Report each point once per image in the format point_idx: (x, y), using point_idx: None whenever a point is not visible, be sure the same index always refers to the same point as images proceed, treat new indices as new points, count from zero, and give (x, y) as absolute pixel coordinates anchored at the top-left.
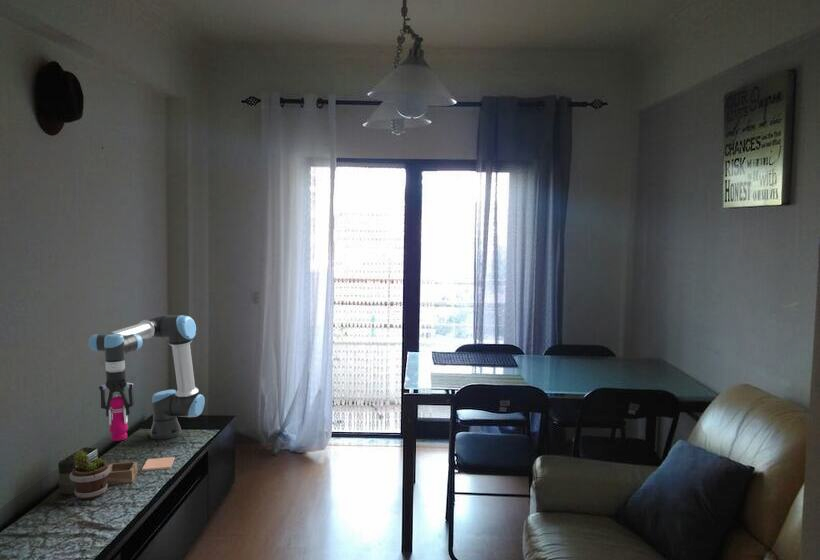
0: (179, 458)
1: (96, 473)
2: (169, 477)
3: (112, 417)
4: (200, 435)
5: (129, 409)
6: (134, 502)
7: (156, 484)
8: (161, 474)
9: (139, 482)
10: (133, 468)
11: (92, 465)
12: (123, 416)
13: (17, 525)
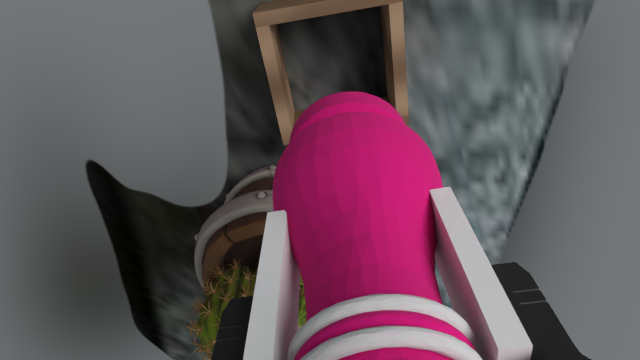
0: None
1: None
2: (560, 61)
3: (284, 259)
4: None
5: (559, 321)
6: None
7: (507, 132)
8: (519, 19)
9: (431, 108)
10: (405, 83)
11: (303, 322)
12: (434, 273)
13: (185, 347)
